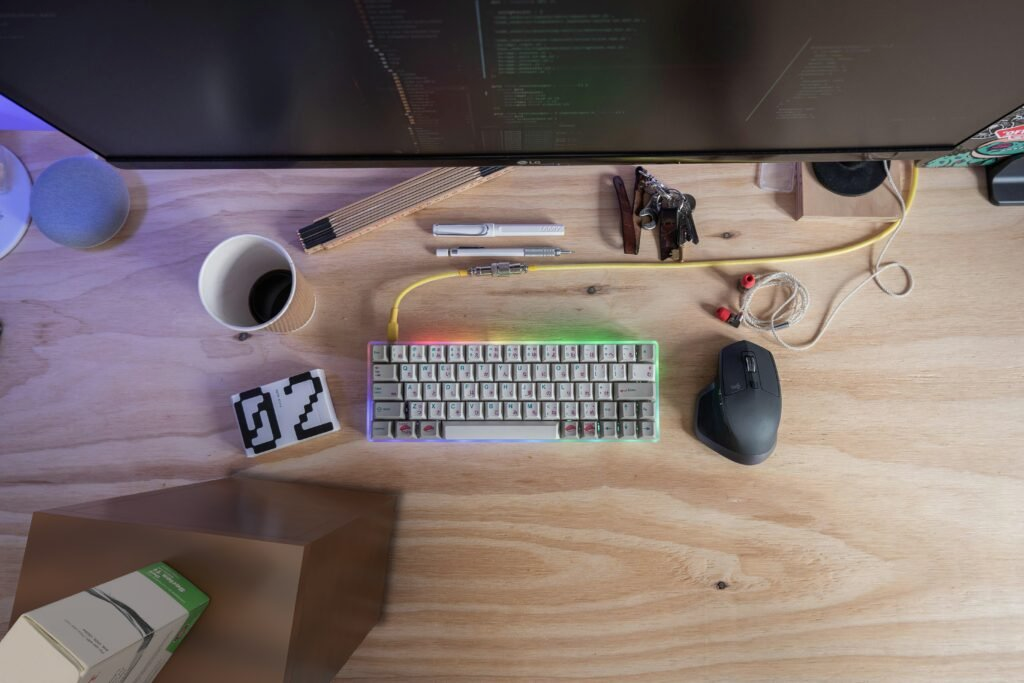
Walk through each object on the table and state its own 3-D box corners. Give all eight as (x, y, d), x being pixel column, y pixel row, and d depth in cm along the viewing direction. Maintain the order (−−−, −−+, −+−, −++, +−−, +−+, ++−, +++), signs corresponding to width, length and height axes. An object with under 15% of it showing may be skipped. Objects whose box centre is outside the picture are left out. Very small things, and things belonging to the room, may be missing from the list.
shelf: (280, 747, 42) (271, 759, 40) (7, 708, 43) (-12, 719, 41) (312, 541, 44) (304, 545, 42) (49, 508, 45) (33, 511, 43)
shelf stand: (379, 619, 70) (280, 747, 42) (212, 597, 70) (7, 708, 43) (396, 496, 71) (312, 541, 44) (233, 476, 72) (49, 508, 45)
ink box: (162, 556, 42) (20, 607, 31) (214, 600, 42) (91, 668, 30) (81, 662, 42) (-95, 755, 30) (134, 707, 41) (-24, 821, 29)
